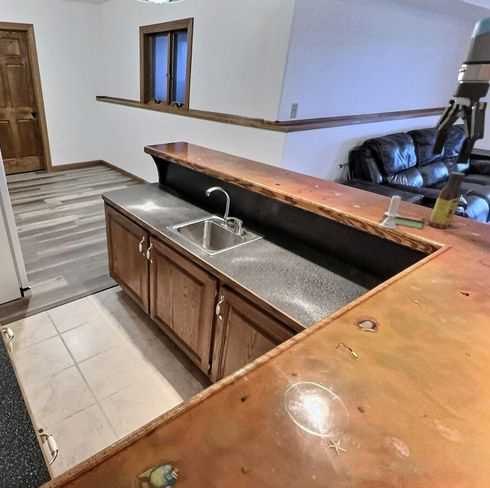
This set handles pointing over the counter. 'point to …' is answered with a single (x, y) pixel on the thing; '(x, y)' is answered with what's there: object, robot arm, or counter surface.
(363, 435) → the counter surface
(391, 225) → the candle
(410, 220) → the mat
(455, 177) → the sauce bottle
